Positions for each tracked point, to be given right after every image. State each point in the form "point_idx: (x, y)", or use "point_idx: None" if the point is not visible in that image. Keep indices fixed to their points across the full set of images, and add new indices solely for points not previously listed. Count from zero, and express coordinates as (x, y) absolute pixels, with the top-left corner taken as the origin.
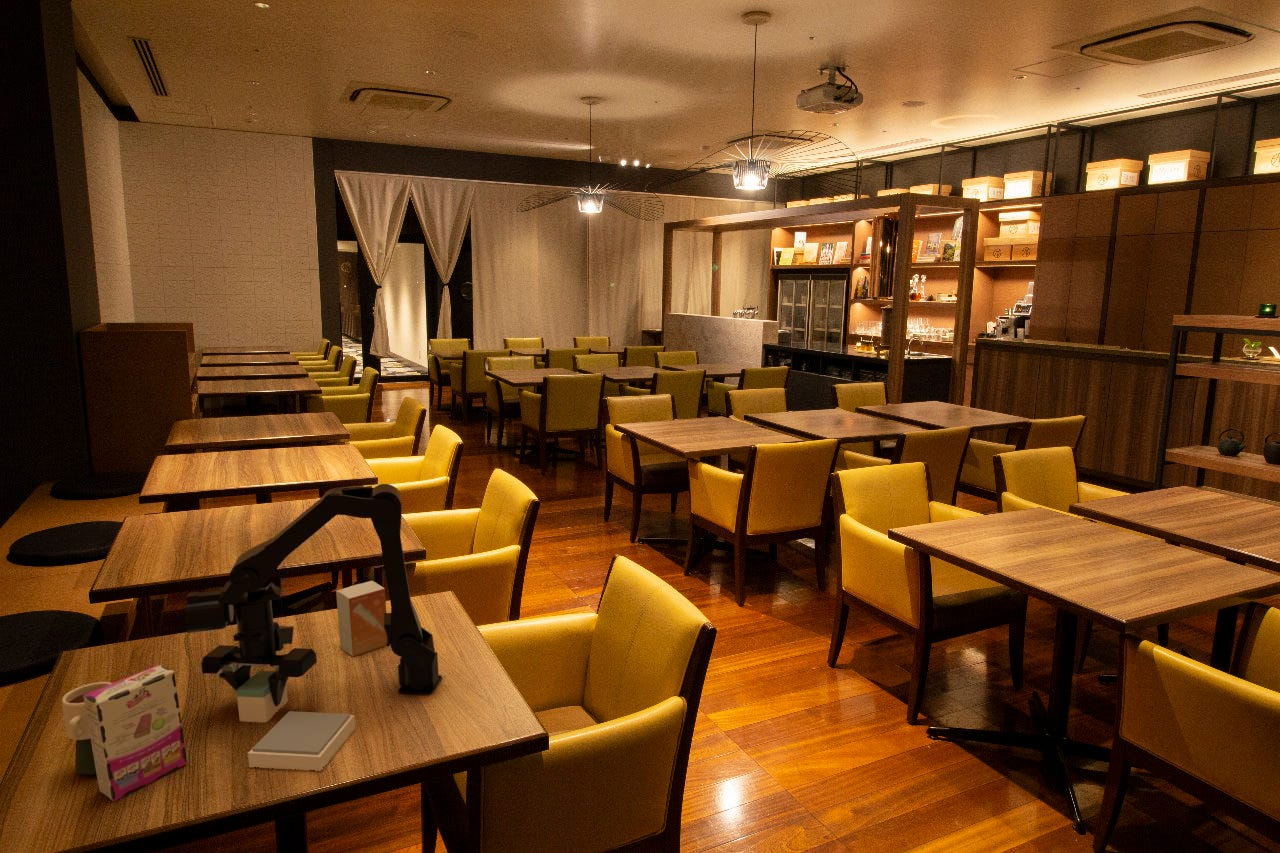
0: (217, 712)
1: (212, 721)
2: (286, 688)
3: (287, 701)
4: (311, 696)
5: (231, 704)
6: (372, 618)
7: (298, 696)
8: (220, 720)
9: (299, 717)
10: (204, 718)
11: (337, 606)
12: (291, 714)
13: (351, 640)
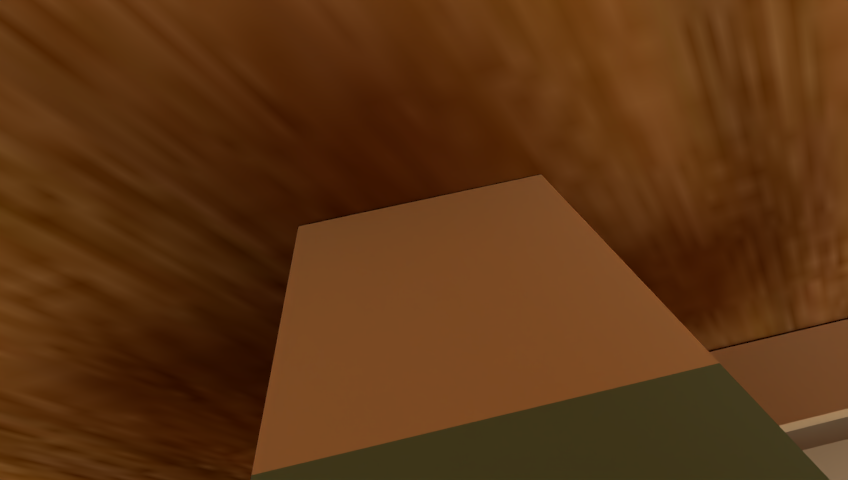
0: (135, 419)
1: (220, 465)
2: (609, 249)
3: (541, 180)
4: (728, 26)
5: (104, 340)
6: None
7: (596, 65)
8: (255, 448)
9: (839, 466)
10: (136, 468)
11: None
12: None
13: None
